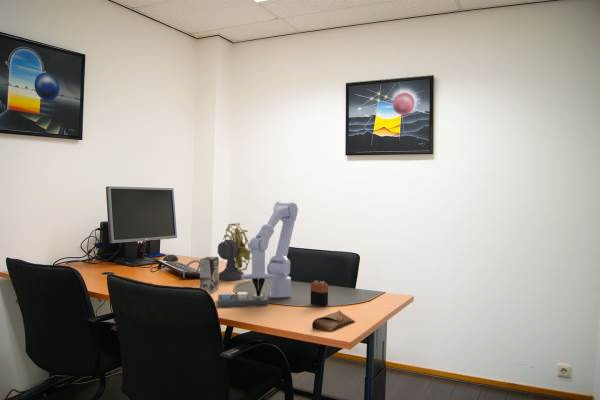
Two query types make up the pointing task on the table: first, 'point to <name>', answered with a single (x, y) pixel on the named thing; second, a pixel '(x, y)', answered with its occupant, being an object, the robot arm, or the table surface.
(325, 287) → the battery
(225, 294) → the blue button
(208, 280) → the coffee box
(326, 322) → the sunglasses case
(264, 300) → the button panel
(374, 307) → the table surface
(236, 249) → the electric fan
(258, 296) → the green button
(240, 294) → the ivory button
